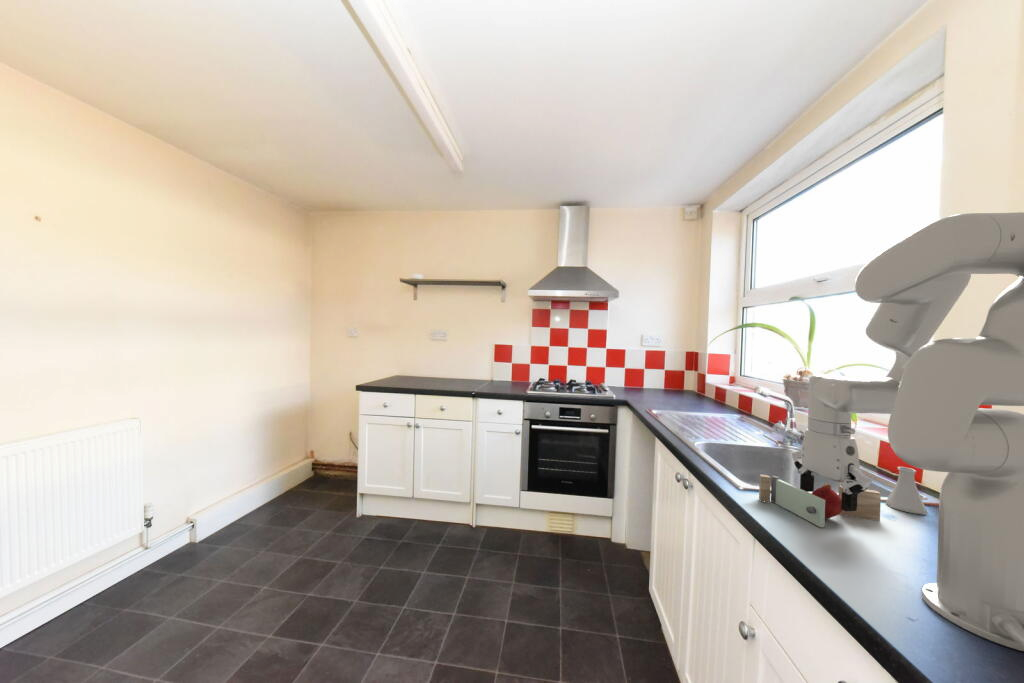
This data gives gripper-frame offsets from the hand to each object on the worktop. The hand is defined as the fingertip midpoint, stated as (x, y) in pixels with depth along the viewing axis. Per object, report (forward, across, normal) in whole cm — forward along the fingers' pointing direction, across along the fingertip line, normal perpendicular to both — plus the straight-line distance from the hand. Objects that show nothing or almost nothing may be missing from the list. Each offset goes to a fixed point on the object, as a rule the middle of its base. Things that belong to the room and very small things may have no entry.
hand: (826, 500), depth 83 cm
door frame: (+4, +4, -2) cm, 6 cm away
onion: (+4, 0, 0) cm, 5 cm away
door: (+4, +3, +6) cm, 8 cm away
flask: (+5, +3, -26) cm, 27 cm away
